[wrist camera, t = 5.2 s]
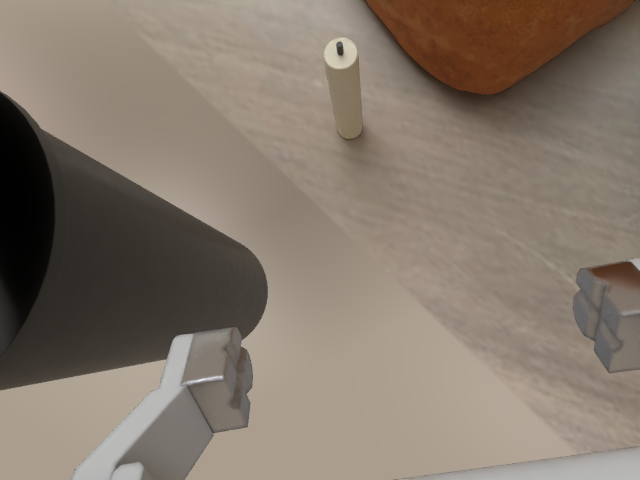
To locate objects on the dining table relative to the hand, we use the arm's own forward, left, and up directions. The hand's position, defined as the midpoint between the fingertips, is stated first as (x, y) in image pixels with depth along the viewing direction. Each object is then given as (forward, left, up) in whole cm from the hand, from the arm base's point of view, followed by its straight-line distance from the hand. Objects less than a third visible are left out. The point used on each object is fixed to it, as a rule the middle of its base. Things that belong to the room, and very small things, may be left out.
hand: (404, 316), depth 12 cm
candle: (+3, +12, -17) cm, 21 cm away
